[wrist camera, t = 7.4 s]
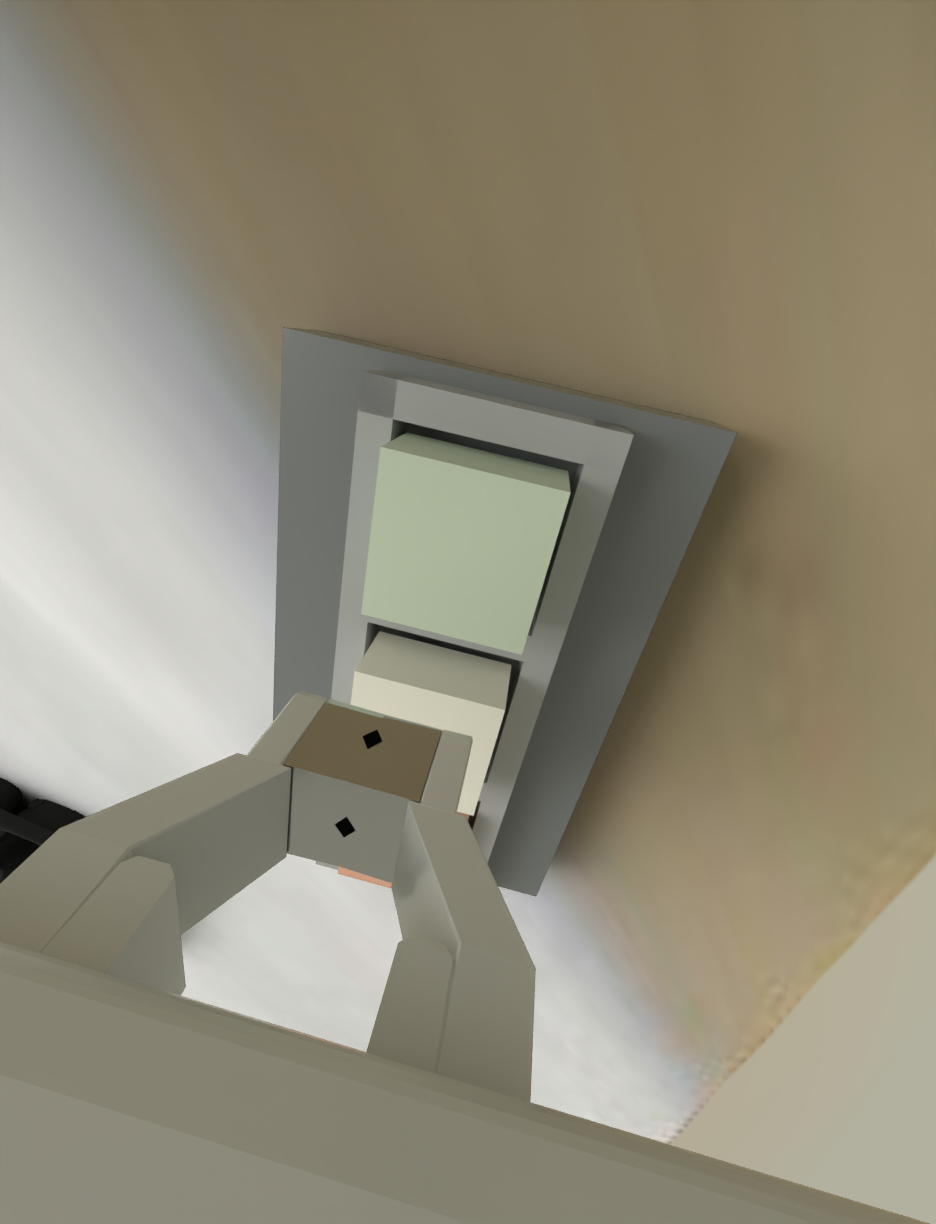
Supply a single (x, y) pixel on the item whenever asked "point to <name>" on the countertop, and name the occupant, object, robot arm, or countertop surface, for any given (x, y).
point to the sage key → (461, 540)
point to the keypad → (574, 583)
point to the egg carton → (26, 826)
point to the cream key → (437, 696)
